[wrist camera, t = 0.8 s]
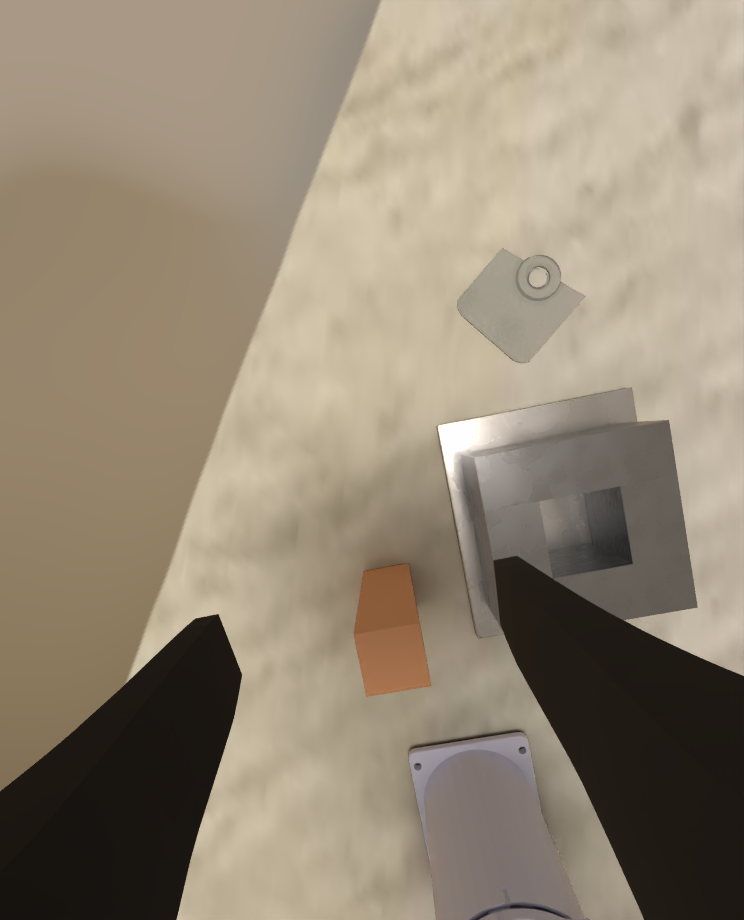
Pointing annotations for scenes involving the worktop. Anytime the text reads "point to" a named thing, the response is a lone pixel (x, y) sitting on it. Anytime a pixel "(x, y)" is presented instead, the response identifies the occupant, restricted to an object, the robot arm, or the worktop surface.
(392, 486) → the worktop surface
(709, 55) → the worktop surface
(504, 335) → the mounting bracket
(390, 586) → the tan rectangular block
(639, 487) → the slotted block
